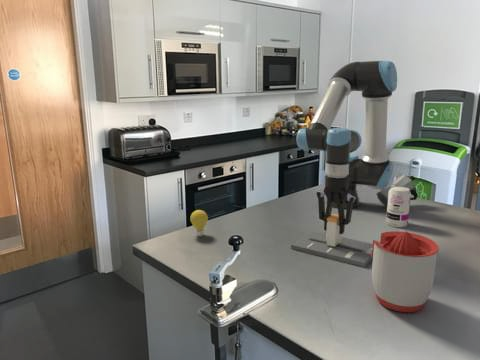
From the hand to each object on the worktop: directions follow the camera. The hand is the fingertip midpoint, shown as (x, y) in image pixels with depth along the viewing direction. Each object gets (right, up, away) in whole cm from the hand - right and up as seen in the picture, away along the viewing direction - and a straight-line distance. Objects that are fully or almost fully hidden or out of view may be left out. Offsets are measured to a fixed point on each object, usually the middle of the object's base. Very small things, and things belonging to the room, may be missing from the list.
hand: (333, 240), depth 138 cm
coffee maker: (+33, +11, +41) cm, 54 cm away
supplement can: (+31, +3, +22) cm, 38 cm away
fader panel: (+1, -3, 0) cm, 3 cm away
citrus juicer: (+9, -11, -31) cm, 35 cm away
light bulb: (-48, 0, +14) cm, 50 cm away
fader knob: (0, -1, 0) cm, 1 cm away
